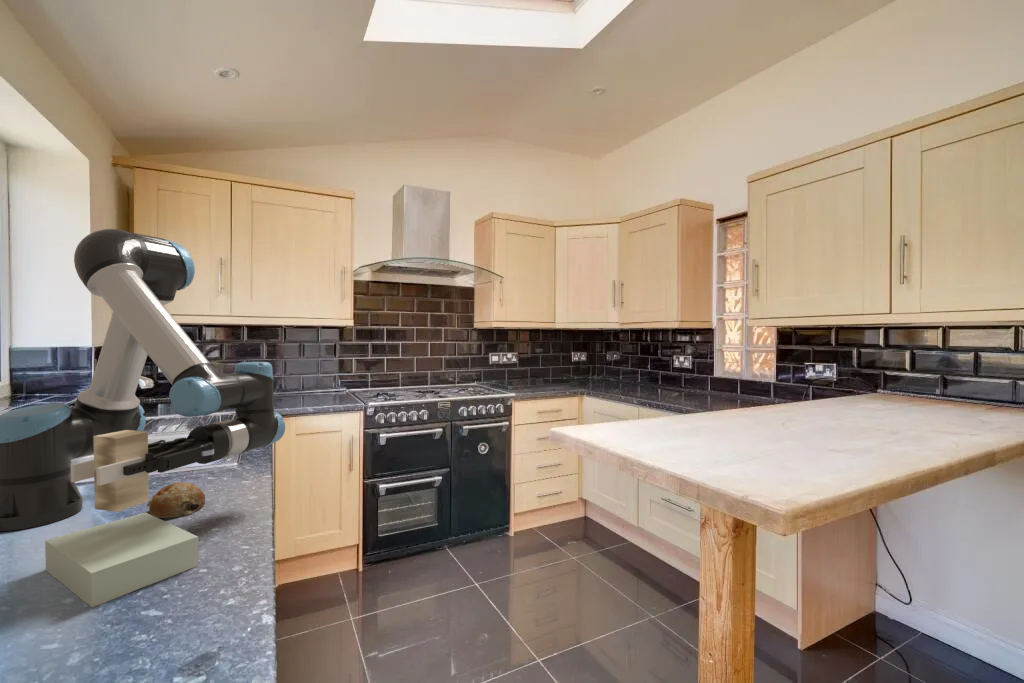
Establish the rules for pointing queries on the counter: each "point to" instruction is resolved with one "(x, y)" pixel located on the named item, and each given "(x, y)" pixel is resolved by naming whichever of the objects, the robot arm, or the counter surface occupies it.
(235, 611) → the counter surface
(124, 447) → the birch block
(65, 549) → the block
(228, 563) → the counter surface
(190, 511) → the bread roll
